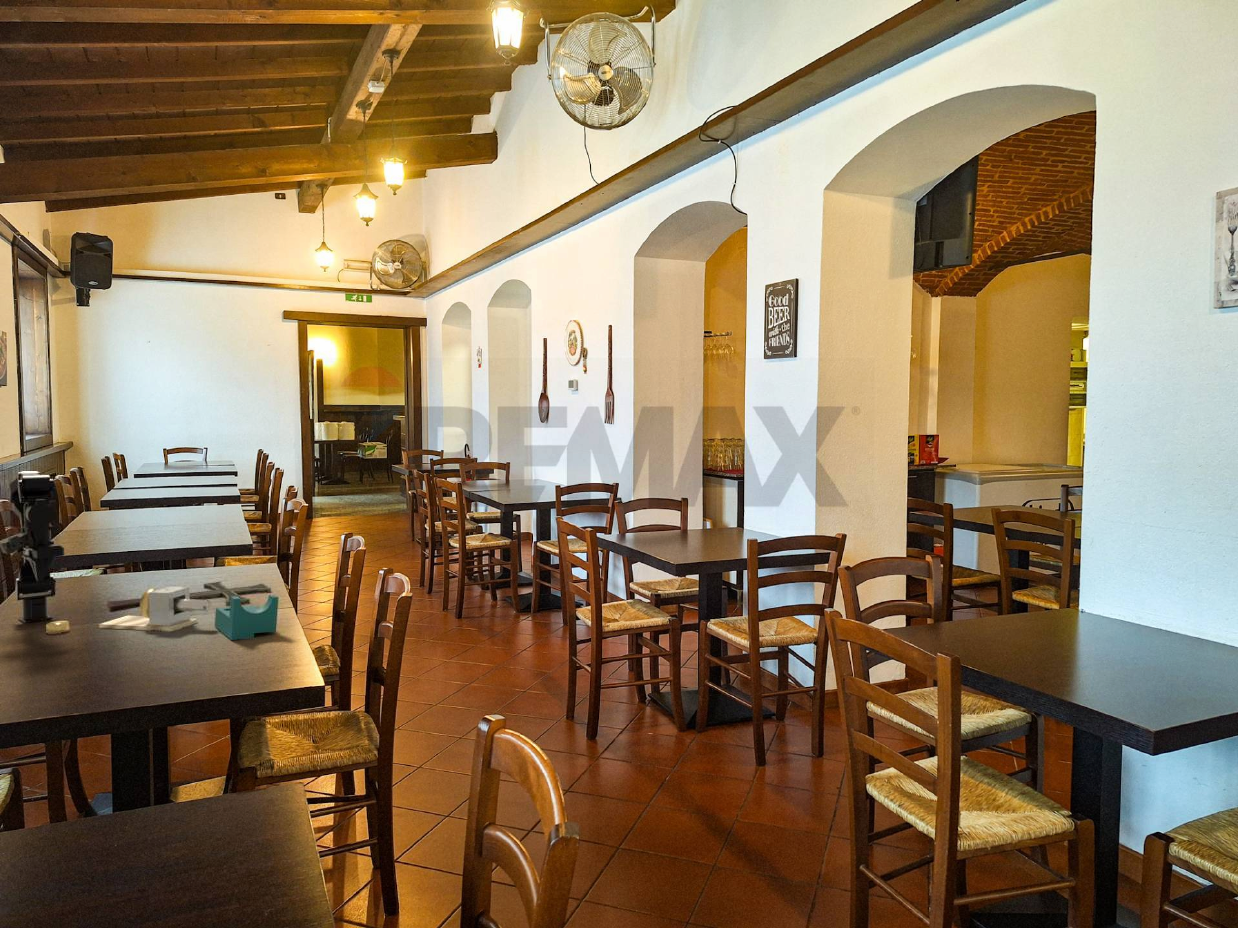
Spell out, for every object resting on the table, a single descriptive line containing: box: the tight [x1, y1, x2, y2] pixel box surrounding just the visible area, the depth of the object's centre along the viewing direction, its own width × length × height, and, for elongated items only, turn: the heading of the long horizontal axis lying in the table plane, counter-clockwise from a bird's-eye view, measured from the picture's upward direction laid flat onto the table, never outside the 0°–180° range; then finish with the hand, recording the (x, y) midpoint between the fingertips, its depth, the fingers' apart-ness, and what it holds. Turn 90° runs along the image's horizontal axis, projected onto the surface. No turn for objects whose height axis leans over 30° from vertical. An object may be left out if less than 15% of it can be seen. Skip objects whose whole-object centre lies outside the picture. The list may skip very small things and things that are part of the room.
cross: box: [106, 580, 272, 612], centre depth 262 cm, size 35×2×45 cm
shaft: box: [139, 588, 211, 618], centre depth 227 cm, size 17×8×8 cm, turn 80°
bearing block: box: [149, 586, 191, 627], centre depth 227 cm, size 6×8×9 cm
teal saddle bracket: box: [214, 594, 280, 641], centre depth 223 cm, size 18×11×10 cm, turn 38°
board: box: [98, 615, 198, 632], centre depth 229 cm, size 22×10×1 cm, turn 80°
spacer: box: [45, 620, 70, 635], centre depth 222 cm, size 5×5×2 cm
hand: (39, 580), depth 223 cm, fingers closed
